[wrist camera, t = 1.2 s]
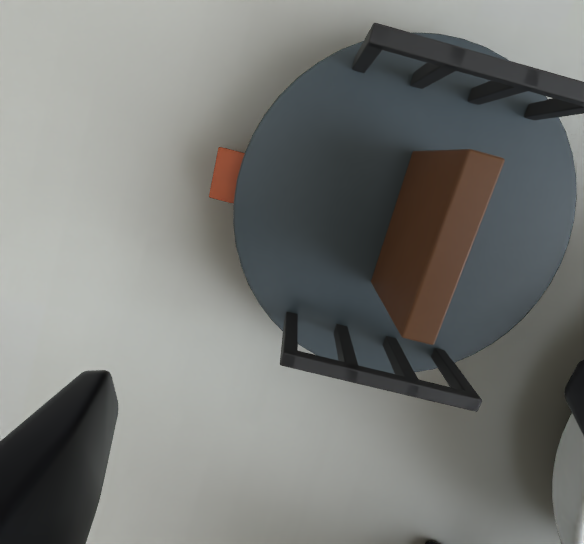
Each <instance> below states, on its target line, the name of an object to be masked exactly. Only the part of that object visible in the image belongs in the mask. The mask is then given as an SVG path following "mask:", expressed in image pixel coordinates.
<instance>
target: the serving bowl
mask: <svg viewBox="0 0 584 544" xmlns="http://www.w3.org/2000/svg"><path fill="white" fill-rule="evenodd" d="M552 499H553V509H554V515H555V521H556V525H557V530H558V534H559V537H560V540H561V544H584V436H583V434H582V432H581V430H580V428H579V426H578V424H577V422H576V420H575V418H574V416H573V414H571V416H570V418H569V420H568V422H567V424H566V427H565V429H564V431H563V433H562V437H561V440H560V443H559V446H558V449H557V453H556V458H555V463H554V470H553V480H552Z"/></svg>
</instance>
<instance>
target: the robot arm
mask: <svg viewBox="0 0 584 544" xmlns="http://www.w3.org/2000/svg"><path fill="white" fill-rule="evenodd" d="M565 398H566V401H567V403H568V405H569V407H570V410H571V412H572V414H573V416H574V418H575V420H576V422H577V424H578V426H579V428H580V430H581V432H582V434H583V436H584V360H582V361H580V362H579V363H578V365H577V367H576V369H575V370H574V372H573V374H572V376H571V378H570V380H569V382H568V383H567V385H566V387H565ZM117 415H118V400H117V396H116V392H115V388H114V384H113V380H112V377H111V374H110V373H109V372H108V371H106V370H97V371H85V372H83V373H81V374H80V375H79V376H77V377H76V378H75V379H74V380H73V381H71V382H70V383H69V384H68V385H67V386H66V387H64V388H63V389H62V390H61V391H60V392H58V393H57V394H56V395H55V396H54V397H52V398H51V399H50V400H49V401H48V402H46V403H45V404H44V405H43V406H42V407H41V408H39V409H38V410H37V411H36V412H35V413H33V414H32V415H31V416H30V417H29V418H27V419H26V420H25V421H24V422H23V423H22V424H20V425H19V426H18V427H17V428H16V429H14V430H13V431H12V432H11V433H10V434H8V435H7V436H6V437H5V438H4V439H2V440H1V441H0V544H86V541H87V538H88V534H89V531H90V528H91V525H92V522H93V519H94V516H95V513H96V510H97V506H98V503H99V499H100V495H101V491H102V487H103V482H104V477H105V472H106V468H107V463H108V458H109V454H110V449H111V444H112V439H113V435H114V430H115V425H116V420H117ZM426 544H438V543H436V542H433V541H430V542H427V543H426Z"/></svg>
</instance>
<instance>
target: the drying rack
mask: <svg viewBox="0 0 584 544" xmlns="http://www.w3.org/2000/svg"><path fill="white" fill-rule="evenodd" d="M546 96H548V97H551V98H552V99H547V98H546ZM582 113H584V82H582V81H578V80H575V79H571V78H568V77H564V76H561V75H557V74H554V73H550V72H547V71H543V70H540V69H536V68H533V67H529V66H526V65H522V64H519V63H515V62H512V61H509V60H507V59H506V58H504V57H502V56H500V55H499V54H497V53H495V52H493V51H491V50H490V49H488V48H486V47H484V46H481V45H478V44H475V43H473V42H470V41H467V40H465V39H461V38H456V37H452V36H447V35H442V34H432V33H410V32H406V31H403V30H399V29H396V28H392V27H388V26H385V25H381V24H378V23H374V24H373V25H372V27H371V29H370V31H369V32H368V34H367V36H366V38H365V40H364V41H362V42H359V43H357V44H354V45H352V46H349V47H346V48H344V49H341V50H339V51H337V52H336V53H334V54H332V55H330V56H329V57H327V58H325V59H323V60H321V61H320V62H318V63H317V64H315V65H314V66H313V67H311V68H310V69H309V70H307V71H306V72H305V73H303V74H302V75H301V76H299V77H298V78H297V79H296V80H295V81H294V82H293V83H292V84H291V85H290V86H289V87H288V88H287V89H286V90H285V91H284V92H283V93H282V94H281V95H280V96H279V97H278V98H277V100H276V101H275V102H274V103H273V105H272V106H271V107H270V109H269V110H268V111H267V112H266V114H265V115H264V117H263V118H262V120H261V122H260V124H259V125H258V127H257V129H256V130H255V132H254V134H253V135H252V138H251V140H250V142H249V145H248V147H247V149H246V152H245V153H242V152H238V151H234V150H230V149H227V148H223V147H219V148H218V153H217V158H216V163H215V168H214V173H213V178H212V183H211V188H210V193H209V197H210V198H213V199H217V200H221V201H225V202H229V203H233V204H234V218H233V225H234V233H235V242H236V248H237V251H238V255H239V259H240V263H241V267H242V269H243V272H244V274H245V277H246V279H247V282H248V284H249V286H250V288H251V290H252V292H253V293H254V295H255V297H256V299H257V300H258V302H259V304H260V305H261V306H262V308H263V309H264V310H265V312H266V313H267V314H268V316H269V317H270V318H271V320H272V321H273V322H274V323H275V324H276V325H277V326H278V327H279V328H280V329H281V330H282V331H283V337H282V347H281V358H280V365H282V366H286V367H290V368H294V369H299V370H303V371H307V372H311V373H316V374H320V375H324V376H328V377H332V378H337V379H341V380H345V381H349V382H353V383H358V384H362V385H366V386H370V387H375V388H379V389H383V390H387V391H391V392H396V393H400V394H404V395H408V396H412V397H417V398H421V399H425V400H429V401H433V402H438V403H442V404H446V405H450V406H455V407H459V408H463V409H467V410H471V411H476V412H477V411H478V409H479V407H480V404H481V402H482V399H481V398H480V397H479V395H478V394H477V393H476V391H475V390H474V389H473V387H472V386H471V385H470V383H469V382H468V381H467V379H466V378H465V377H464V375H463V374H462V373H461V371H460V370H459V369H458V367H457V366H456V365H455V362H457V361H459V360H462V359H464V358H466V357H469V356H471V355H473V354H475V353H477V352H478V351H480V350H482V349H484V348H485V347H487V346H489V345H491V344H492V343H494V342H495V341H496V340H498V339H499V338H500V337H502V336H503V335H505V334H506V333H507V332H509V331H510V330H511V329H512V328H513V327H514V326H515V325H516V324H517V323H518V322H520V321H521V320H522V319H523V318H524V317H525V316H526V314H527V313H528V312H529V311H530V310H531V309H532V308H533V306H534V305H535V304H536V303H537V302H538V301H539V299H540V298H541V296H542V295H543V293H544V292H545V290H546V289H547V288H548V286H549V285H550V283H551V281H552V279H553V277H554V276H555V274H556V272H557V270H558V268H559V266H560V264H561V262H562V259H563V256H564V254H565V251H566V249H567V246H568V243H569V239H570V235H571V231H572V227H573V223H574V216H575V207H576V173H575V167H574V161H573V155H572V151H571V148H570V144H569V141H568V138H567V135H566V132H565V129H564V127H563V125H562V123H561V121H560V119H559V117H562V116H569V115H575V114H582ZM298 344H299V345H301V346H302V347H304V348H305V349H307V350H309V351H310V352H312V353H314V354H315V355H313V354H309V353H305V352H300V351H297V347H298ZM435 368H438V369H439V371H440V372H441V374H442V375H443V377H444V378H445V380H446V381H447V383H448V384H449V386H450V387H446V386H442V385H438V384H434V383H430V382H426V381H421V380H418V378H417V376H416V375H415V373H414V372H419V371H425V370H431V369H435Z"/></svg>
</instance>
